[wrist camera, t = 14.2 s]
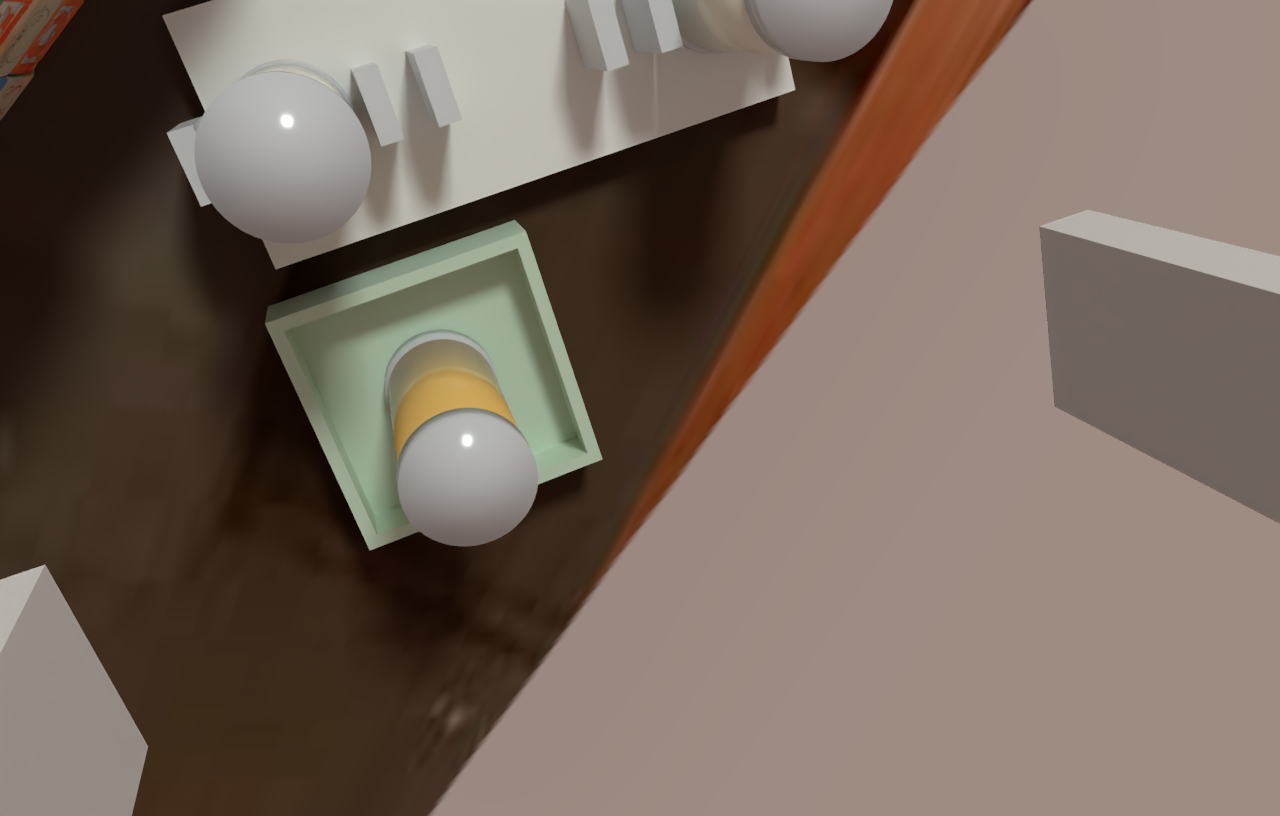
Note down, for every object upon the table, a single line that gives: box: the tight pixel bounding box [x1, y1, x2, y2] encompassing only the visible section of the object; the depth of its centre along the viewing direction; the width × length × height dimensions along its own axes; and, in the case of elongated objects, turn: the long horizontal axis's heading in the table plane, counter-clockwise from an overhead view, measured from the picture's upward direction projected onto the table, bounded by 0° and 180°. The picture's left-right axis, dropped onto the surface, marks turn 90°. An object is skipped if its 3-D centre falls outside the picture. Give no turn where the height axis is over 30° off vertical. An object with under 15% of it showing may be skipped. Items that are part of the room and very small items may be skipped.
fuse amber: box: [384, 329, 538, 546], centre depth 37 cm, size 4×4×10 cm
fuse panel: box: [162, 0, 795, 269], centre depth 37 cm, size 22×9×5 cm, turn 106°
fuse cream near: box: [194, 60, 371, 244], centre depth 32 cm, size 4×4×10 cm
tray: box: [265, 220, 602, 550], centre depth 41 cm, size 10×10×2 cm
